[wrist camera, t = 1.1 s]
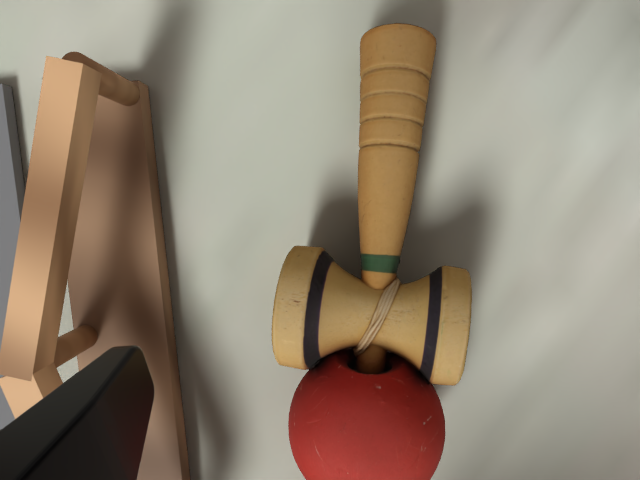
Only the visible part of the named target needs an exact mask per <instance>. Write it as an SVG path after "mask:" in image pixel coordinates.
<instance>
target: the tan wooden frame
mask: <svg viewBox="0 0 640 480" xmlns="http://www.w3.org/2000/svg"><path fill="white" fill-rule="evenodd" d="M67 279H68V287H69V295H70V303H71V311H72V319H73V327H74V330H72V331H70V332H68V333H66V334H64V335H62V336H60V337H58V333H59V327H60V321H61V315H62V309H63V303H64V297H65V291H66V285H67ZM129 345H136V346H139V347H140V348H141V349H142V351H143V353H144V356H145V359H146V362H147V365H148V368H149V371H150V374H151V377H152V380H153V383H154V390H155V394H154V401H153V406H152V411H151V415H150V420H149V425H148V430H147V434H146V439H145V444H144V449H143V453H142V458H141V463H140V467H139V472H138V477H137V480H190V471H189V462H188V453H187V443H186V434H185V425H184V415H183V406H182V397H181V388H180V378H179V369H178V360H177V351H176V341H175V332H174V323H173V313H172V304H171V295H170V286H169V276H168V267H167V258H166V249H165V239H164V230H163V221H162V211H161V202H160V193H159V184H158V174H157V165H156V156H155V147H154V137H153V128H152V119H151V109H150V100H149V91H148V86H147V85H145V84H144V83H142V82H140V81H139V80H137V81H129V80H127V79H125V78H124V77H122V76H120V75H118V74H116V73H115V72H113V71H111V70H109V69H108V68H106V67H104V66H102V65H100V64H99V63H97V62H95V61H93V60H92V59H90V58H88V57H86V56H85V55H83V54H81V53H79V52H70V53H67V54H66V55H65V56H64V57H63V58H62V59H59V58H54V57H49V56H46V61H45V68H44V74H43V81H42V87H41V93H40V100H39V106H38V113H37V119H36V126H35V132H34V138H33V145H32V151H31V158H30V164H29V170H28V177H27V183H26V190H25V196H24V203H23V209H22V215H21V222H20V228H19V235H18V241H17V248H16V254H15V260H14V267H13V273H12V280H11V286H10V293H9V299H8V305H7V312H6V318H5V325H4V331H3V338H2V344H1V350H0V375H4V376H3V377H1V378H0V386H1V388H2V390H3V393H4V395H5V397H6V399H7V401H8V404H9V406H10V408H11V410H12V413H13V415H14V417H15V419H16V418H17V417H19V416H20V415H21V414H23V413H24V412H25V411H27V410H28V409H29V408H31V407H32V406H33V405H35V404H36V403H37V402H39V401H40V400H41V399H43V398H44V397H45V396H47V395H48V394H49V393H51V392H52V391H53V390H55V389H56V388H57V387H59V386H60V385H62V384H63V382H62V380H61V378H60V376H59V373H58V371H57V369H56V368H57V367H58V366H60V365H62V364H63V363H65V362H67V361H68V360H70V359H72V358H74V357H75V356H77V359H78V367H79V371H80V370H82V369H83V368H84V367H86V366H87V365H88V364H90V363H91V362H92V361H94V360H95V359H96V358H98V357H99V356H100V355H102V354H103V353H104V352H106V351H107V350H109V349H110V348H112V347H116V346H129Z"/></svg>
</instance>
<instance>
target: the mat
mask: <svg viewBox="0 0 640 480" xmlns="http://www.w3.org/2000/svg"><path fill="white" fill-rule="evenodd" d="M24 196H25V185H24V178H23V170H22V162H21V155H20V147H19V139H18V132H17V124H16V116H15V109H14V101H13V93H12V87H10V86H7V85H4V84H0V350H1V344H2V338H3V331H4V325H5V318H6V312H7V305H8V299H9V293H10V286H11V280H12V273H13V267H14V260H15V254H16V248H17V241H18V235H19V228H20V222H21V215H22V209H23V203H24ZM3 376H4V375H0V378H1V377H3ZM13 420H15V417H14V415H13V413H12V410H11V408H10V406H9V404H8V401H7V399H6V397H5V395H4V393H3V390H2V388H1V386H0V430H1V429H3V428H4V427H5V426H7V425H8V424H9V423H11V422H12V421H13Z"/></svg>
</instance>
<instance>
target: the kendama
mask: <svg viewBox="0 0 640 480" xmlns="http://www.w3.org/2000/svg"><path fill="white" fill-rule="evenodd" d="M435 51H436V39H435V37H434V36H433V34H432V33H430V32H429V31H427V30H426V29H423V28H421V27H418V26H414V25H410V24H401V23H395V24H387V25H382V26H378V27H375V28H373V29H370V30H369V31H368V32H366V33H365V34H364V35H363V36H362V38H361V42H360V76H361V84H360V101H361V103H360V124H361V125H360V132H359V147H360V150H359V161H358V215H359V234H360V253H361V267H362V269H361V279H359V278H357V277H355V276H354V275H352V274H350V273H348V272H347V271H345V270H344V269H343V268H341V267H340V266H339V265H338V264H337V263H335V262H334V260H333V259H332V258H331V257H330V256H329V254H328V253H327V252H326V251H325V249H324V248H322V247H308V246H294V247H293V248H292V249H291V251H290V252H289V253H288V255H287V257H286V259H285V261H284V264H283V266H282V269H281V272H280V276H279V281H278V284H277V289H276V295H275V300H274V308H273V318H272V345H273V352H274V355H275V359H276V360H277V362H278V363H279V364H280V365H283V366H288V367H293V368H298V369H303V370H306V369H309V371H308V372H307V373H306V374H305V376H304V377H303V379H302V380H301V382H300V384H299V385H298V387H297V389H296V391H295V393H294V396H293V399H292V403H291V407H290V412H289V425H288V427H289V440H290V445H291V449H292V452H293V456H294V459H295V461H296V463H297V465H298V467H299V469H300V471H301V472H302V474H303V476H304V477H305V479H306V480H430V479H431V477H432V476H433V474H434V472H435V470H436V468H437V466H438V464H439V461H440V459H441V455H442V452H443V447H444V441H445V419H444V414H443V409H442V406H441V403H440V400H439V397H438V395H437V393H436V391H435V389H434V387H433V385H432V384H440V385H456V384H457V383H458V382H459V381H460V379H461V376H462V374H463V371H464V366H465V359H466V354H467V346H468V340H469V331H470V323H471V303H472V288H471V278H470V275H469V272H468V271H467V270H466V269H461V268H457V267H451V266H442V267H439V268H438V269H437V270H435V271H434V272H432V273H431V274H429V275H427V276H425V277H423V278H421V279H419V280H416V281H414V282H410V283H406V284H401V282H400V280H399V279H398V278H397V276H396V273H397V268H398V264H399V262H400V255H401V251H402V247H403V242H404V238H405V234H406V229H407V224H408V220H409V215H410V210H411V205H412V199H413V194H414V188H415V182H416V175H417V168H418V161H419V153H418V151H419V150H420V146H421V139H422V127H423V125H424V118H425V111H426V104H427V97H428V91H429V81H430V79H431V73H432V67H433V62H434V56H435Z"/></svg>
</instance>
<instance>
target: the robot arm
mask: <svg viewBox="0 0 640 480" xmlns="http://www.w3.org/2000/svg"><path fill="white" fill-rule="evenodd" d="M154 394H155V390H154V383H153V380H152V377H151V374H150V371H149V368H148V365H147V362H146V359H145V356H144V353H143V351H142V349H141V348H140V347H139V346H136V345H129V346H116V347H112V348H110V349H109V350H107V351H106V352H104V353H103V354H102V355H100V356H99V357H98V358H96V359H95V360H94V361H92V362H91V363H90V364H88V365H87V366H86V367H84V368H83V369H82V370H80V371H79V372H78V373H76V374H75V375H74V376H72V377H71V378H70V379H68V380H67V381H66V382H64V383H63V384H62V385H60V386H59V387H57V388H56V389H55V390H53V391H52V392H51V393H49V394H48V395H47V396H45V397H44V398H43V399H41V400H40V401H39V402H37V403H36V404H35V405H33V406H32V407H31V408H29V409H28V410H27V411H25V412H24V413H23V414H21V415H20V416H19V417H17V418H16V419H15V420H13V421H12V422H11V423H9V424H8V425H7V426H5V427H4V428H3V429H1V430H0V480H137V477H138V472H139V467H140V463H141V458H142V453H143V449H144V444H145V439H146V434H147V430H148V425H149V420H150V415H151V411H152V406H153V401H154Z"/></svg>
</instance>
